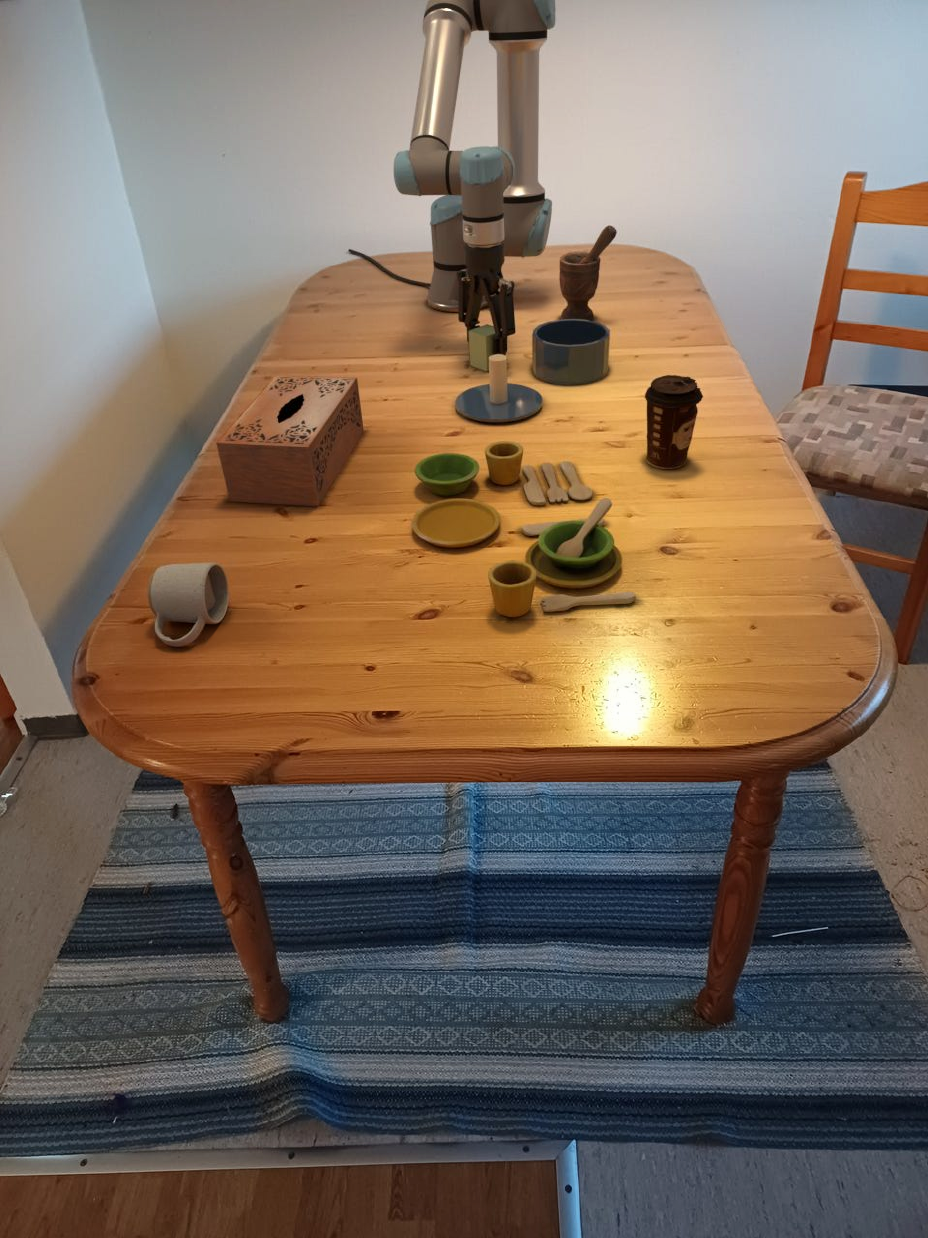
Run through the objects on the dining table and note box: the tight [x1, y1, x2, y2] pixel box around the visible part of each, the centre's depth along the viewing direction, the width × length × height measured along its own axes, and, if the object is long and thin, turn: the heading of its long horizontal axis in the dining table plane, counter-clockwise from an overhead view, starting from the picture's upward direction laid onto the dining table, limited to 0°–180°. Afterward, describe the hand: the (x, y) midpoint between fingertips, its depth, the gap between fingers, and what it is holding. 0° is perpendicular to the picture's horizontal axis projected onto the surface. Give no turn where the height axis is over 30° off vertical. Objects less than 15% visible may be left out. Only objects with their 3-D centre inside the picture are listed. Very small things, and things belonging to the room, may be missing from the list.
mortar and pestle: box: [558, 225, 618, 321], centre depth 191 cm, size 12×9×20 cm
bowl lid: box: [454, 354, 544, 423], centre depth 160 cm, size 16×16×9 cm
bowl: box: [531, 319, 611, 386], centre depth 173 cm, size 15×15×8 cm
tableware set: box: [411, 440, 637, 618], centre depth 126 cm, size 41×28×6 cm
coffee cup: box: [644, 374, 704, 470], centre depth 140 cm, size 9×8×13 cm
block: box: [468, 323, 502, 373], centre depth 177 cm, size 5×5×7 cm
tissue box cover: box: [215, 374, 365, 507], centre depth 145 cm, size 26×14×10 cm, turn 169°
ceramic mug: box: [146, 561, 230, 648], centre depth 112 cm, size 11×8×8 cm
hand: (487, 363), depth 179 cm, fingers open, 6 cm apart
